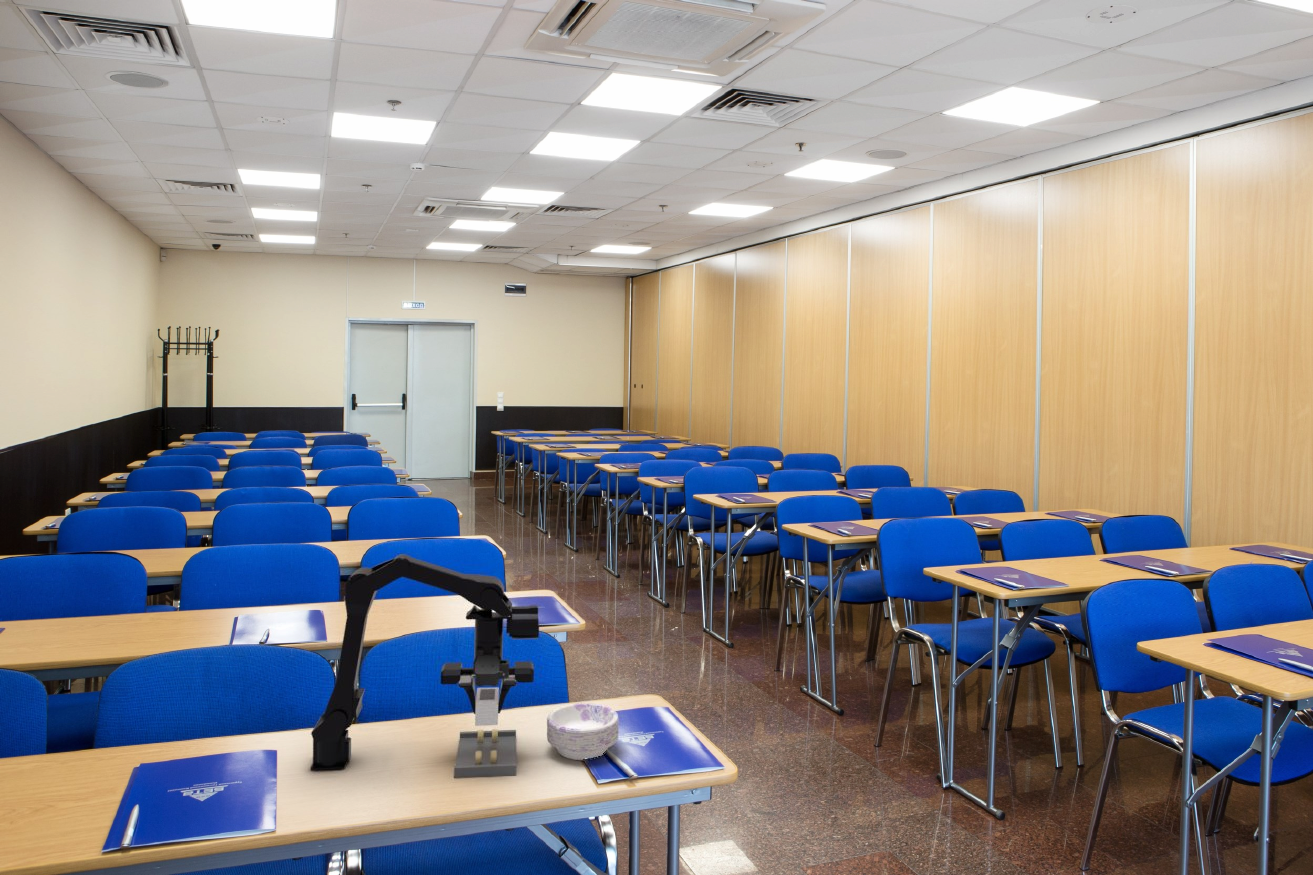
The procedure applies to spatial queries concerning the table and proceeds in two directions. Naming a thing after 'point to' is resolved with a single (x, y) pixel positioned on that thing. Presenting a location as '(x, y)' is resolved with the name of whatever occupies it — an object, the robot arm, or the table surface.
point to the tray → (486, 754)
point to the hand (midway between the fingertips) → (487, 713)
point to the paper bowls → (582, 730)
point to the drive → (487, 706)
